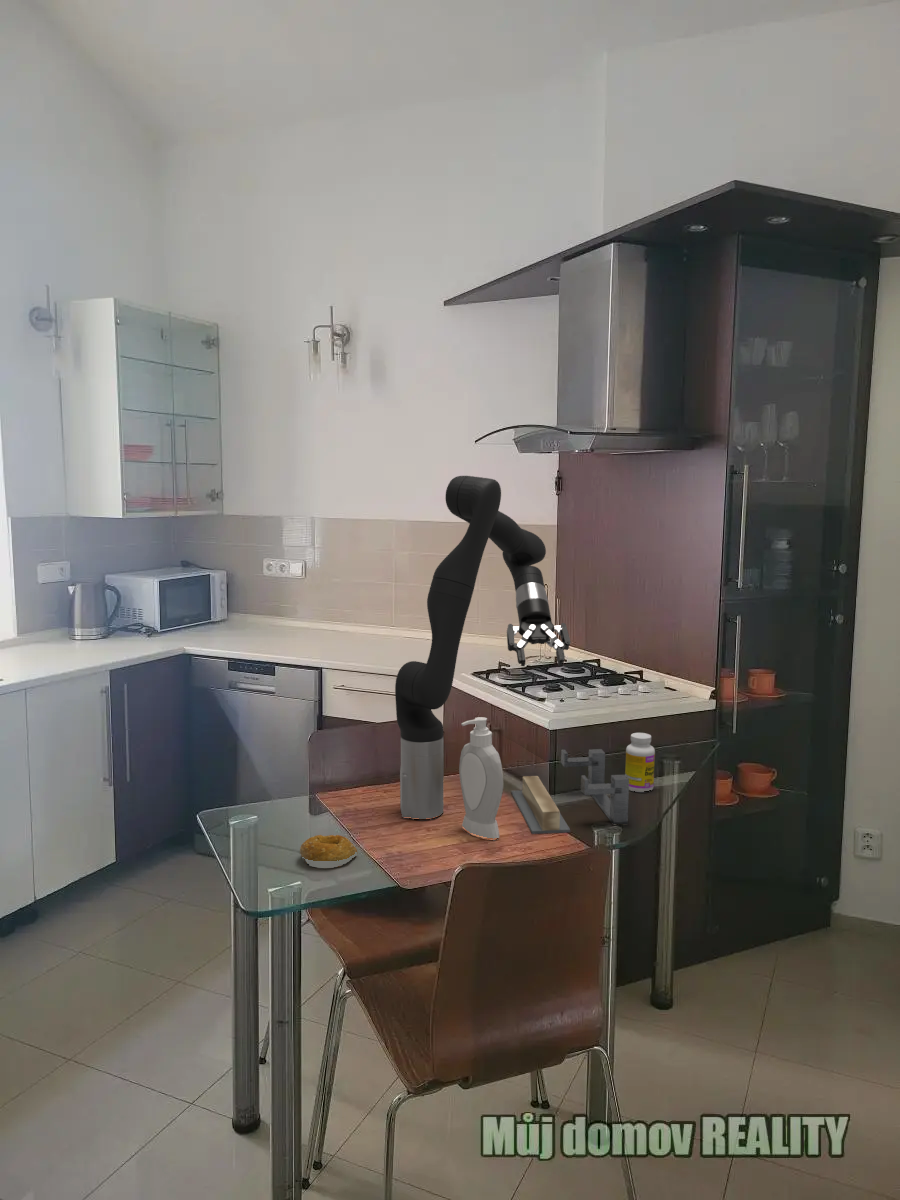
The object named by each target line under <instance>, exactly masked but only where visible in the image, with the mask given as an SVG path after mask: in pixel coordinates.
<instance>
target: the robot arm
mask: <svg viewBox="0 0 900 1200" xmlns="http://www.w3.org/2000/svg"><path fill="white" fill-rule="evenodd" d="M501 487H502V486H501V485H500V482H498V481H497V480H496V479H495V478H494V479H493V478H488V477H483V476H482V477H479V476H473V475H472V476H471V475H458V476H455V477H453V478H452V479H451V480H450V481H449V483H448V485H447V486H446V490H445V498H444V499H445V505H446V507H447V509H448V510H449V512H451V514H452V515H454V516H455V517H457V518H459V519H461V520H463V521H465V522H466V523H468V524H469V525H468V527H467V529H466V532H465V534H464V536H463V538H462V539H461V540H460V541H459V543H458V544H457V545H456V546H455V548H453V549H452V550H451V551H450V552H449V553H448V555H446V557H444V559H443V560H442V561H441V562H440V563H439V565H438V566H437V567H436V569H435V570H434V573H433V575H432V579H431V583H430V586H429V590H428V594H427V598H426V599H427V600H426V607H427V614H428V619H429V624H430V630H431V644H430V650H429V654H428V658H427V661H426V663H425V662H422V661H417V660H413V661H408V662H406V663H404V664H403V665H402V666H401V667H400V669H399V670H398V673H397V675H396V679H395V684H394V688H395V689H394V692H395V693H394V696H395V709H396V710H395V711H396V712H395V713H396V721H397V726H398V727H399V729H400V768H399V773H400V774H399V779H400V781H399V782H400V783H399V786H400V787H399V788H400V789H399V790H400V791H399V794H400V795H399V796H400V797H399V799H400V801H399V802H400V804H399V805H400V806H399V807H400V813H401V814H402V815H401V818H402V817H411V818H419V819H426V818H433V817H436V816H439V815H441V814H442V813H443V814H444V805H445V804H444V725H443V723H442V721H441V720H440V719H439V718H437V716H436V715H435V713H433V711H432V710H437V709H439V708H441V707H442V706H444V704H445V703H446V702H447V700H448V698H449V697H450V693H451V691H452V688H453V682H454V678H455V677H454V675H455V671H456V666H457V665H456V664H457V660H458V659H457V658H458V651H459V647H460V643H461V638H462V635H463V631H464V627H465V626H464V625H465V621H466V617H467V614H468V611H469V608H470V604H471V601H472V597H473V594H474V589H475V586H476V582H477V578H478V574H479V569H480V566H481V562H482V558H483V555H484V552H485V548H486V545H487V543H488V540H489V539H490V540H491V542H492V543H494V545H496V546H497V547H498V549H500V550H501V552H502V558H503V560H504V563H505V565H506V566H507V569H508V570H509V572H510V575H511V577H512V580H513V584H514V590H515V607H516V610H517V611H516V613H517V616H518V617H517V618H518V625H519V626H517V625H516V626H514V624H512V623H509V624H508V625H507V628H506V629H507V630H506V640H507V643H506V644H507V651H509V652H513V651H514V652H515V653H516V657H517V663H518V665H520V666H521V667H525V666H526V662H527V661H526V654H525V648H526V647H527V645H528V644H531V645H536V644H539V645H545V644H547V645H548V646H549V647H550V648H553V650H555V651H556V652H555V655H556V660H557V665H558V666H562V665H563V663H564V662H565V659H566V655H565V651H567V650H569V649H570V645H571V639H570V633H569V631H568V627H567V624H566V623H565V622H562V623H561V624H560V625H554V624H553V622H552V617H551V610H550V605H549V599H548V595H547V594H548V593H547V592H546V589H545V584H544V583H545V582H544V577H543V573H542V571H541V569H540V568H539V567H537V566H534V565H535V564H538V563H541V562H542V561H543V560H544V559H545V557H546V553H547V549H546V545H545V543H544V541H543V540H542V538H541V537H539V536H538V535H537V534H535V533H533V532H531V531H530V530H529V531H528V530H526V529H524V528H522V527H521V526H520V525H519V524H518V523H517V522H516V521H515V520H514V519H513V518H511V516H508V515H507V514H505V513H504V512H502V511H500V510H499V509H500V505H501V500H502V488H501ZM554 632H556V633H557V634H558V636H560V639H561V640H560V639H559V638H558V636H557V635H556V634H555V633H554ZM517 633H519V635H520V636H522V637H521V639H520V640H519V642H518V643H516V642H515V636H517ZM443 814H442V815H443ZM442 815H441V816H442Z"/></svg>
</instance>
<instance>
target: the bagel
mask: <svg viewBox="0 0 900 1200" xmlns="http://www.w3.org/2000/svg"><path fill="white" fill-rule="evenodd" d="M355 852H357V853H358V849H357V848H356V847H355V845H354V844H353V843H352V842H351V841H350V840H349V839H348V838H347V837H345V836H343V835H339V834H336V835H334V834H330V835H323V834H317V835H314V836H310V837H309V838H307V839H306V840H305V841H304V842H302V844H301V845H300V847H299V854H300V855H301V858H302V857H304V858H305V859H308V860H313V861H337V860H338V861H339V860H343V859H347V858H349V857H350V856H352V855H354V854H355Z"/></svg>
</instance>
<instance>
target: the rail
mask: <svg viewBox="0 0 900 1200" xmlns="http://www.w3.org/2000/svg"><path fill="white" fill-rule="evenodd" d="M521 790H522V793H523V795H524V797H525V799H526V801H527V803H528V804H529V806H530V808H531V810H532V812H533V814H534V816H535V817H536V819H537V821H538V823H539V825H540V827H541V828H542V830H543V831H545V830H559V824H560V814H561V812H560V809H559V808H558V806H557V804H556V803H555V801H554V799H553V798H552V797H551V795H550V793H549V792H548V790H547V788H546V786H545V785H544V784H543V782H542V780H541V779H540V777H539V776H538V775H530V776H527V775H523V776H522V789H521Z"/></svg>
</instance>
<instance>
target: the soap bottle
mask: <svg viewBox="0 0 900 1200" xmlns="http://www.w3.org/2000/svg"><path fill="white" fill-rule="evenodd" d="M487 721H488V718H487V717H484V716H483V717H482V716H480V717H479V716H478V717H475V718H474V719H470V720H466V721H464V722H461V726H462V727H464V726H467V725H475V726H474V727H473V730H471V731H470V732H469V737H470V738H469V742H468V743H466V744H464V745H463V748H462V749H461V753H460V757H459V766H458V767H459V769H458V770H459V771H458V773H459V783H460V787H461V788H460V789H461V793H462V799H463V800H462V801H463V806H464V810H465V814H464V816H463V820H462V824H461V827H462V826H463V827H464V828H465V829H466V830H467V831H469V832H470V833H473V834H476V835H479V836H483V837H487V838H493V839H494V838H499V839H500V830H499V826H498V821H497V820H496V817H497V814H498V811H499V808H500V805H501V800H502V796H503V791H504V774H503V773H504V771H503V765H502V760H501V757H500V754H499V752H498V750H496V748H495V747H494V745H493V743H492V742H493V732H492V731H491V730H490V729H489V727H487Z"/></svg>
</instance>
